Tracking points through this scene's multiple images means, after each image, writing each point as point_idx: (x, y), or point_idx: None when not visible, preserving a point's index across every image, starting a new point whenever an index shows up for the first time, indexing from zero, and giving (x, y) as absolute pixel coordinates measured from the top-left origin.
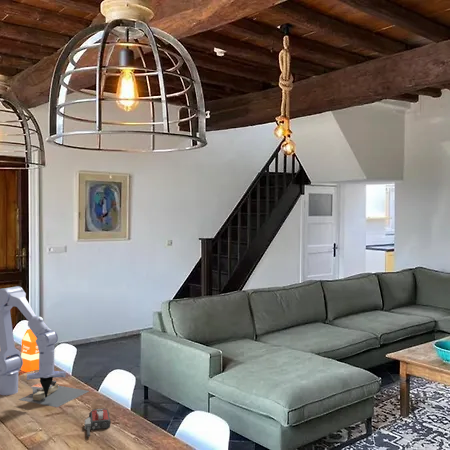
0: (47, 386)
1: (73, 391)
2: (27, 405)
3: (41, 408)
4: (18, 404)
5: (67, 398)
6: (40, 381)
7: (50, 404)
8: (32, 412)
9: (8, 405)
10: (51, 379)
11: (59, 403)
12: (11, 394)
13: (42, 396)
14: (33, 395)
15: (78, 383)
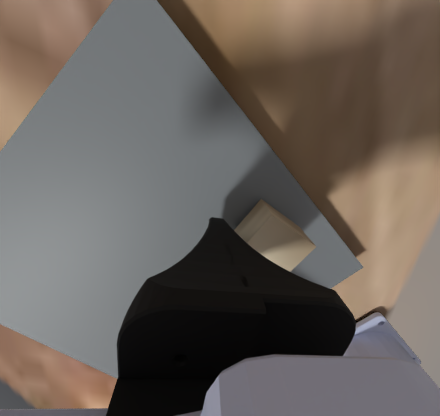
0: (215, 256)
1: (32, 300)
2: (327, 193)
3: (260, 93)
4: (364, 226)
5: (56, 186)
6: (353, 316)
7: (193, 91)
8: (341, 23)
9: (412, 229)
10: (140, 342)
11: (115, 86)
12: (363, 338)
13: (241, 233)
14: (311, 241)
15: (40, 399)
